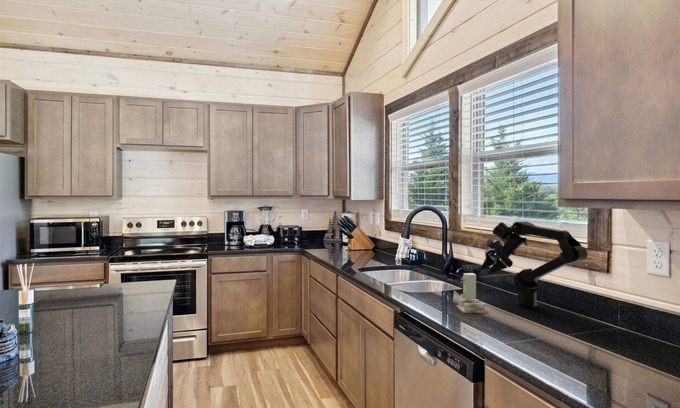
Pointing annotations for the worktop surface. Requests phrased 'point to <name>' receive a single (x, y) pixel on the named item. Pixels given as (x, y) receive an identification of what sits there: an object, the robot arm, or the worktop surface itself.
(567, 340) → the worktop surface
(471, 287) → the grey-green rectangular block
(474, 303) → the hinge clip plate
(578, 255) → the robot arm
